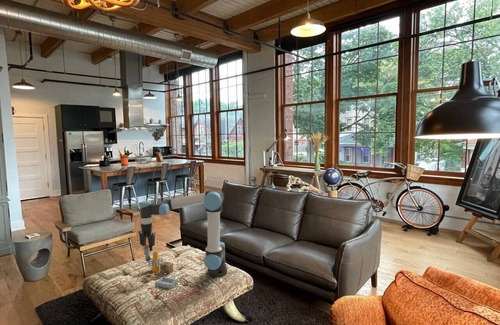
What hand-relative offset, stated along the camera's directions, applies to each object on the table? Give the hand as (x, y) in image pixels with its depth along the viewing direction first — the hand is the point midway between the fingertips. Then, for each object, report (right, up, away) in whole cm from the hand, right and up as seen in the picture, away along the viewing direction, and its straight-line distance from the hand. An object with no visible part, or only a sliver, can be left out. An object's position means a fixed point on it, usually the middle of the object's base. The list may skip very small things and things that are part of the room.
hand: (147, 254), depth 209 cm
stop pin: (0, -4, 0) cm, 4 cm away
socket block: (0, -18, +2) cm, 18 cm away
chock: (+10, -17, +13) cm, 24 cm away
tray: (+15, -19, -6) cm, 25 cm away
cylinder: (+1, -17, +17) cm, 24 cm away
